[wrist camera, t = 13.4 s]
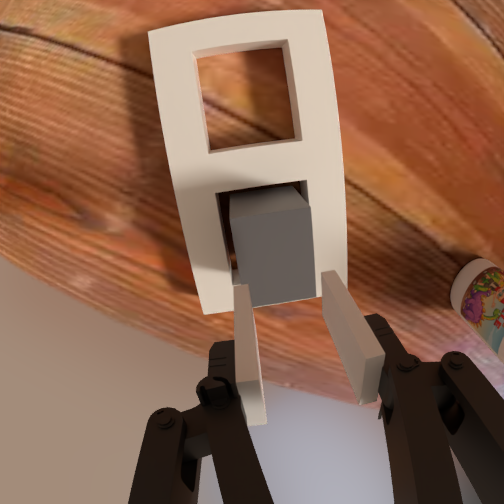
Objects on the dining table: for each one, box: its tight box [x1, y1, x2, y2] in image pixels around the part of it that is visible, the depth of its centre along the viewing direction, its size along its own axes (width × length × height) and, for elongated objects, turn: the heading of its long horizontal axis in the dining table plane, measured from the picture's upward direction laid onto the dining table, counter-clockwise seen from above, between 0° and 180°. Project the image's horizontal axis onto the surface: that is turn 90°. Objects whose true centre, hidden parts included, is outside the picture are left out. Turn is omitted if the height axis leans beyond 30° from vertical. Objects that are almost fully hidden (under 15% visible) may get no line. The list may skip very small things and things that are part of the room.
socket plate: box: [148, 10, 347, 315], centre depth 24 cm, size 13×24×3 cm, turn 8°
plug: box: [230, 185, 316, 307], centre depth 24 cm, size 5×6×8 cm
